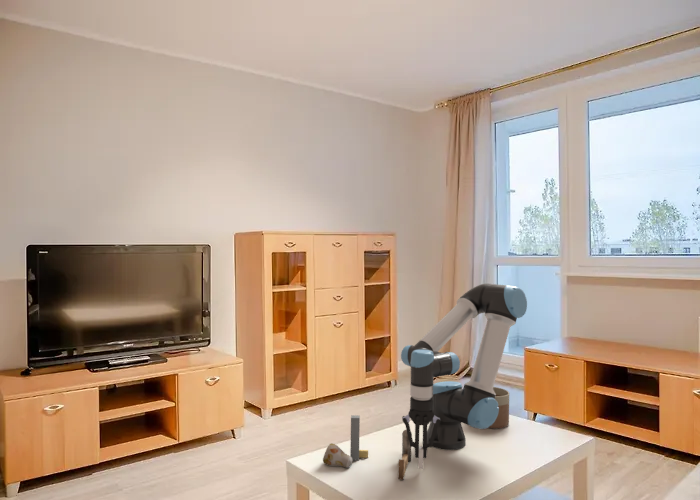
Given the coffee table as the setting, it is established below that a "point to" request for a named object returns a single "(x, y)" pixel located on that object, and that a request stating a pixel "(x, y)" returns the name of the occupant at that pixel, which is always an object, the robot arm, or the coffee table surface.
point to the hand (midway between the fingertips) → (420, 467)
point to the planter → (501, 408)
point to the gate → (402, 466)
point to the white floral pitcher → (336, 457)
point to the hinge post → (406, 445)
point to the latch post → (356, 440)
